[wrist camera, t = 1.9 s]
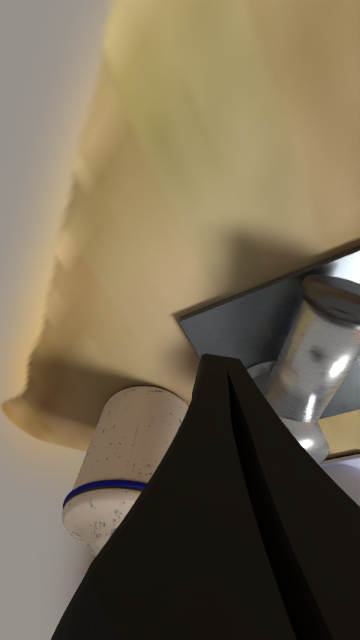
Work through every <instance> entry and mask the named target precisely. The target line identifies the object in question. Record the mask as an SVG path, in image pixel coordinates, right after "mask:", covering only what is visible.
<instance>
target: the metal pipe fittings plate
mask: <svg viewBox="0 0 360 640" xmlns="http://www.w3.org/2000/svg"><path fill="white" fill-rule="evenodd" d="M314 274H319V275H329V276H334V277H339V278H343V279H347V280H350V281H354V282H357V283H360V246H359V247H356V248H354V249H351V250H348V251H346V252H343V253H341V254H338V255H336V256H333V257H331V258H328V259H326V260H323V261H321V262H318V263H316V264H313V265H311V266H308V267H306V268H303V269H301V270H298V271H296V272H293V273H291V274H288V275H286V276H283V277H281V278H278V279H276V280H273V281H271V282H268V283H266V284H263V285H261V286H258V287H256V288H253V289H250V290H248V291H245V292H243V293H240V294H238V295H235V296H233V297H230V298H228V299H225V300H223V301H220V302H218V303H215V304H213V305H210V306H208V307H205V308H203V309H200V310H198V311H195V312H193V313H190V314H188V315H185V316H183V317H180V319H179V323H180V324H181V326H182V328H183V330H184V331H185V333H186V335H187V337H188V338H189V340H190V342H191V344H192V345H193V347H194V349H195V351H196V352H197V354H198V356H199V358H200V359H201V356H202V355H203V354H205V353H206V354H213V355H219V356H225V357H232V358H238V359H240V360H241V362H242V363H243V365H244V366H245V368H246V369H247V371H248V373H249V374H250V376H251V377H252V378H254V377H255V376H257V375H260V374H262V373H266V372H272V370H273V368H274V365H275V363H276V361H277V359H278V356H279V354H280V352H281V349H282V347H283V345H284V343H285V340H286V338H287V336H288V334H289V331H290V329H291V327H292V325H293V322H294V320H295V318H296V315H297V313H298V311H299V309H300V306H301V304H302V302H303V300H304V299H303V298H302V297H301V295H300V293H299V290H300V288H301V285H302V283H303V281H304V278H305V277H306V276H308V275H314ZM359 409H360V355H359V357H358V358H357V360H356V362H355V363H354V365H353V366H352V368H351V369H350V371H349V372H348V374H347V376H346V377H345V379H344V380H343V382H342V383H341V385H340V386H339V388H338V390H337V391H336V393H335V394H334V396H333V397H332V399H331V400H330V402H329V404H328V405H327V407H326V408H325V410H324V411H323V413H322V414H321V416H320V418H319V419H322V418H326V417H330V416H334V415H338V414H342V413H346V412H350V411H355V410H359Z"/></svg>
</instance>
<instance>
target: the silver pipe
mask: <svg viewBox="0 0 360 640" xmlns="http://www.w3.org/2000/svg"><path fill="white" fill-rule="evenodd" d="M299 293H300V295H301V297H302V298H303V299H304V300H303V302H302V304H301V306H300V309H299V311H298V313H297V315H296V318H295V320H294V322H293V325H292V327H291V329H290V331H289V334H288V336H287V338H286V340H285V343H284V345H283V347H282V349H281V352H280V354H279V356H278V359H277V361H276V363H275V365H274V368H273V370H272V372H266V373H262V374H260V375H257V376H255V377H254V378H252V379H253V380H254V382H255V383H256V385H257V386H258V388H259V389H260V391H261V392H262V394H263V395H264V397H265V398H266V400H267V401H268V403H269V404H270V405H271V407H272V408H273V410H274V411H275V412H276V414H277V415H278V416H279V418H280V419H281V420H282V422H283V423H284V424H285V426H286V427H287V428H288V429H289V431H290V432H291V433H292V434H293V436H294V437H295V438H296V439H297V441H298V442H299V443H300V444H301V445H302V446H303V448H304V449H305V450H306V451H307V452H308V453H309V454H310V455H311V457H312V458H313V459H314V460H315V461H316V462H317V463H318V464H320V463H321V462H322V461H324V459H325V458H326V457H327V455H328V453H329V445H328V443H327V441H326V438H325V436H324V434H323V432H322V430H321V427H320V425H319V423H318V419H319V418H320V416H321V414H322V413H323V411H324V410H325V408H326V407H327V405H328V404H329V402H330V400H331V399H332V397H333V396H334V394H335V393H336V391H337V390H338V388H339V386H340V385H341V383H342V382H343V380H344V379H345V377H346V376H347V374H348V372H349V371H350V369H351V368H352V366H353V365H354V363H355V362H356V360H357V358H358V357H359V355H360V283H357V282H354V281H350V280H347V279H343V278H339V277H334V276H329V275H319V274H314V275H308V276H306V277H305V278H304V281H303V283H302V285H301V288H300V290H299Z"/></svg>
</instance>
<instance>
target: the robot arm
mask: <svg viewBox="0 0 360 640" xmlns="http://www.w3.org/2000/svg"><path fill="white" fill-rule="evenodd" d="M51 640H360V454H356V455H351V456H346V457H341V458H336V459H331V460H326V461H322V462H321V463H320V464H318V463H317V462H316V461H315V460H314V459H313V458H312V457H311V455H310V454H309V453H308V452H307V451H306V450H305V449H304V448H303V446H302V445H301V444H300V443H299V442H298V441H297V439H296V438H295V437H294V436H293V434H292V433H291V432H290V431H289V429H288V428H287V427H286V426H285V424H284V423H283V422H282V420H281V419H280V418H279V416H278V415H277V414H276V412H275V411H274V410H273V408H272V407H271V405H270V404H269V403H268V401H267V400H266V398H265V397H264V395H263V394H262V392H261V391H260V389H259V388H258V386H257V385H256V383H255V382H254V380H253V379H252V377H251V376H250V374H249V373H248V371H247V369H246V368H245V366H244V365H243V363H242V362H241V360H240V359H238V358H232V357H225V356H219V355H213V354H206V353H205V354H203V355H202V356H201V360H200V364H199V368H198V372H197V376H196V380H195V384H194V388H193V392H192V401H191V403H190V405H189V408H188V410H187V412H186V415H185V417H184V419H183V421H182V423H181V425H180V427H179V429H178V431H177V433H176V435H175V437H174V439H173V441H172V443H171V444H170V446H169V448H168V450H167V451H166V453H165V455H164V457H163V458H162V460H161V462H160V464H159V465H158V467H157V469H156V470H155V472H154V474H153V475H152V477H151V478H150V480H149V481H148V483H147V484H146V486H145V487H144V489H143V490H142V492H141V494H140V495H139V497H138V498H137V500H136V501H135V503H134V504H133V506H132V507H131V509H130V510H129V512H128V513H127V514H126V516H125V517H124V519H123V520H122V522H121V523H120V524H119V526H118V527H117V528H116V530H115V531H114V533H113V534H112V535H111V537H110V538H109V539H108V541H107V542H106V544H105V545H104V546H103V548H102V549H101V550H100V552H99V553H98V555H97V556H96V557H95V559H94V560H93V562H92V563H91V565H90V566H89V568H88V571H87V573H86V575H85V577H84V578H83V580H82V582H81V584H80V585H79V587H78V589H77V591H76V592H75V594H74V596H73V598H72V599H71V601H70V603H69V605H68V607H67V609H66V610H65V612H64V614H63V616H62V618H61V620H60V622H59V624H58V626H57V628H56V630H55V632H54V634H53V636H52V638H51Z"/></svg>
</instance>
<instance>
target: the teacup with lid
mask: <svg viewBox="0 0 360 640" xmlns="http://www.w3.org/2000/svg"><path fill="white" fill-rule="evenodd" d="M188 408H189V407H188V405H187V404H186V403H185V402H184V401H183V400H182V399H181V398H179V397H178V396H176V395H175V394H173V393H171V392H169V391H166V390H163V389H160V388H156V387H149V386H138V387H131V388H127V389H124V390H122V391H119V392H117V393H116V394H114V395H113V396H112V397H111V398H110V399H109V400H108V401H107V402H106V404H105V406H104V409H103V411H102V414H101V416H100V419H99V422H98V424H97V427H96V429H95V432H94V435H93V437H92V440H91V443H90V445H89V448H88V450H87V453H86V456H85V459H84V461H83V464H82V466H81V469H80V472H79V474H78V477H77V479H76V482H75V484H74V487H73V490H72V491H71V492H70V493H69V494H68V495H67V497H66V498H65V501H64V503H63V513H62V518H63V524H64V526H65V528H66V530H67V531H68V533H69V534H70V535H71V536H72V537H73V538H74V539H76V540H77V541H78V542H80V543H82V544H83V545H86V546H87V547H88V548H89V550H90V551H91V553H92V554H93V555H94V556H95V557H96V556H97V555H98V553H99V552H100V550H101V549H102V548H103V546H104V545H105V544H106V542H107V541H108V539H109V538H110V537H111V535H112V534H113V533H114V531H115V530H116V528H117V527H118V526H119V524H120V523H121V522H122V520H123V519H124V517H125V516H126V514H127V513H128V512H129V510H130V509H131V507H132V506H133V504H134V503H135V501H136V500H137V498H138V497H139V495H140V494H141V492H142V490H143V489H144V487H145V486H146V484H147V483H148V481H149V480H150V478H151V477H152V475H153V474H154V472H155V470H156V469H157V467H158V465H159V464H160V462H161V460H162V458H163V457H164V455H165V453H166V451H167V450H168V448H169V446H170V444H171V443H172V441H173V439H174V437H175V435H176V433H177V431H178V429H179V427H180V425H181V423H182V421H183V419H184V417H185V415H186V412H187V410H188Z"/></svg>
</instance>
